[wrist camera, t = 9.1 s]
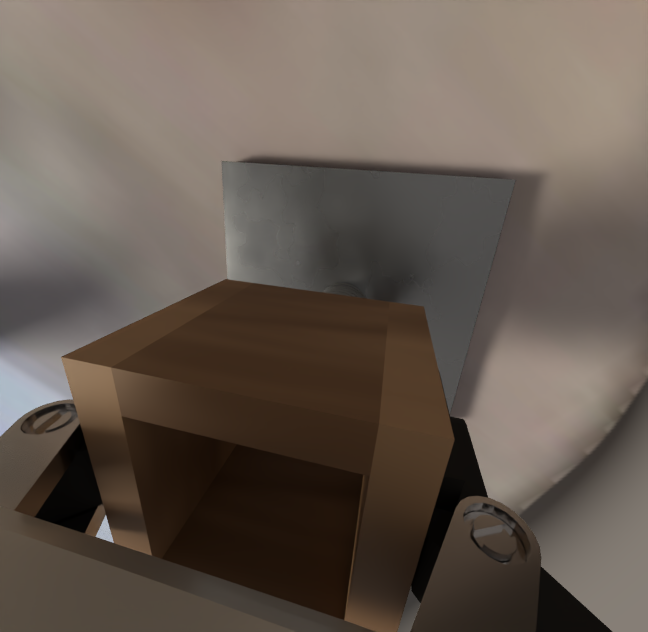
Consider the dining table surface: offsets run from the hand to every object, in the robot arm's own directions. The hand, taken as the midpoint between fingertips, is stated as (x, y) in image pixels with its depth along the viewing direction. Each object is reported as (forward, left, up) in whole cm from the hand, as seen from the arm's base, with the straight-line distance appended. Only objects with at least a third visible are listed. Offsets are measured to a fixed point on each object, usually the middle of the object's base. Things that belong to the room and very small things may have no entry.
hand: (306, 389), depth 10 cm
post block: (0, 0, -9) cm, 9 cm away
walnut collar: (0, 0, -1) cm, 1 cm away
